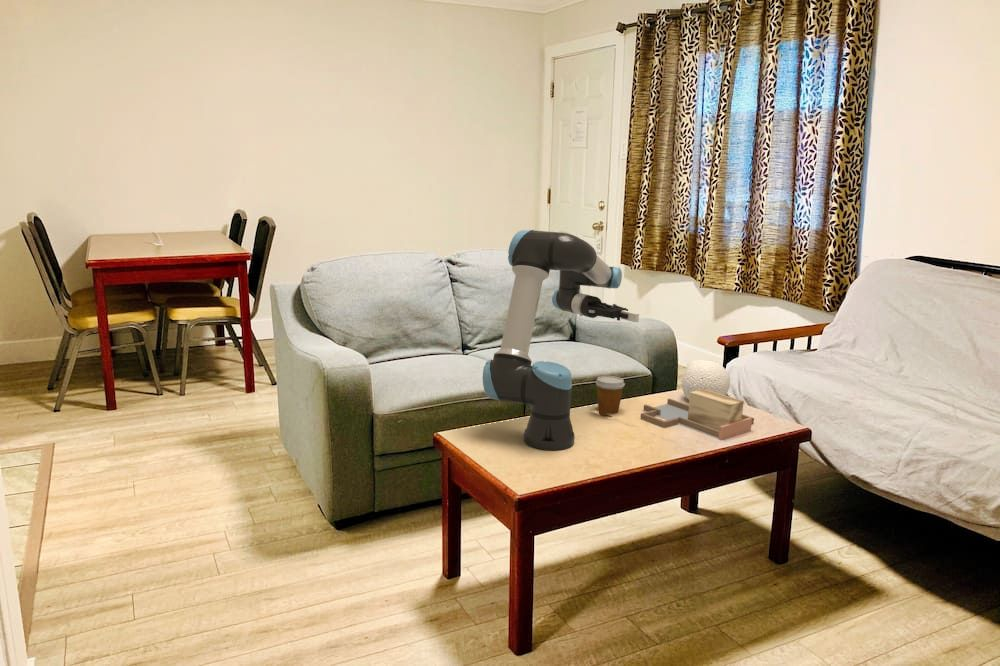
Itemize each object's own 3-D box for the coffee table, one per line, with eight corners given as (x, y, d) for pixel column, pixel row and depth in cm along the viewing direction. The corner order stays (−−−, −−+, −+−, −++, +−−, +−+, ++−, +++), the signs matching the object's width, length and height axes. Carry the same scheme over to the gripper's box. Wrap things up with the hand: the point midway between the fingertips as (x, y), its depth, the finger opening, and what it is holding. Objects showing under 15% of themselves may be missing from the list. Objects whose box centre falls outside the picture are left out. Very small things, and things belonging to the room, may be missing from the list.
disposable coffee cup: (624, 419, 250) (626, 384, 247) (595, 418, 250) (597, 383, 247) (620, 409, 259) (622, 375, 256) (592, 408, 259) (594, 374, 256)
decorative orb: (696, 415, 256) (700, 369, 252) (662, 399, 271) (666, 356, 268) (741, 407, 265) (745, 363, 261) (705, 393, 280) (709, 351, 277)
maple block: (726, 436, 234) (730, 405, 232) (687, 422, 245) (690, 392, 243) (740, 431, 238) (743, 401, 236) (700, 418, 250) (703, 388, 247)
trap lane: (706, 448, 227) (708, 431, 226) (627, 417, 251) (628, 402, 250) (762, 430, 244) (764, 414, 242) (683, 403, 268) (684, 388, 267)
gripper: (599, 314, 274) (649, 327, 256) (573, 318, 266) (622, 331, 248) (601, 293, 272) (651, 304, 254) (574, 296, 265) (624, 308, 246)
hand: (637, 318), depth 251 cm, fingers closed
